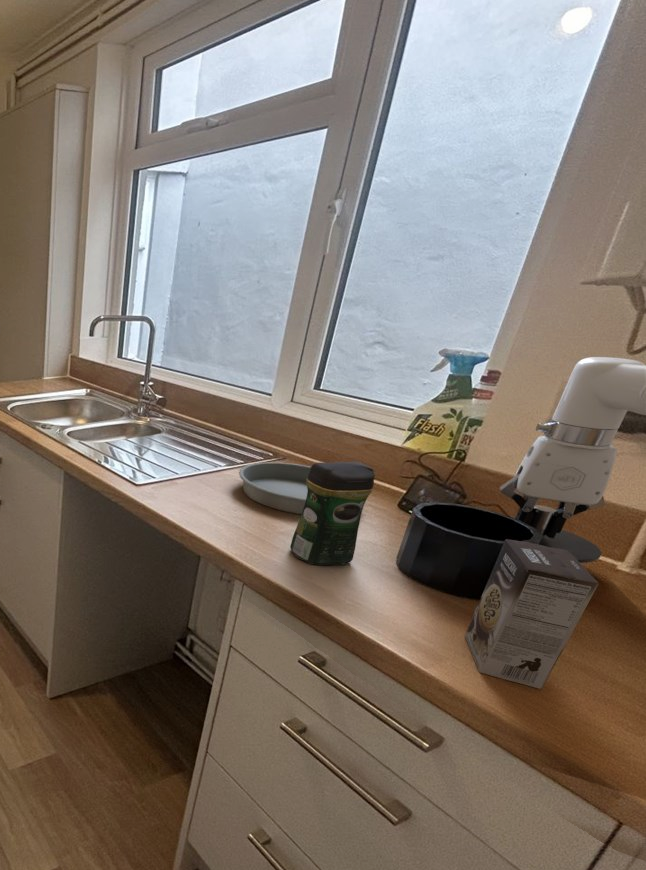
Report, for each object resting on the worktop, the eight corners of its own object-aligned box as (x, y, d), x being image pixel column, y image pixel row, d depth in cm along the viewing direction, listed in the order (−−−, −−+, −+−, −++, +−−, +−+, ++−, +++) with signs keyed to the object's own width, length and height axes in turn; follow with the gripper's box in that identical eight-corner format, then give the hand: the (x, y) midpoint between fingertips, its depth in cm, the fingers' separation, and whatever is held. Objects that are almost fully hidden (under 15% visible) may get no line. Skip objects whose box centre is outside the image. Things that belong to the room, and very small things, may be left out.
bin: (500, 567, 94) (523, 514, 90) (528, 612, 82) (556, 553, 78) (391, 545, 102) (408, 496, 98) (402, 584, 89) (421, 529, 85)
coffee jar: (330, 545, 102) (355, 455, 95) (359, 566, 95) (389, 470, 88) (281, 547, 102) (303, 456, 95) (306, 568, 94) (332, 471, 87)
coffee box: (461, 635, 77) (503, 537, 71) (521, 650, 74) (570, 548, 67) (477, 673, 69) (525, 567, 63) (544, 691, 66) (602, 582, 60)
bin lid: (576, 534, 98) (592, 501, 95) (617, 576, 84) (637, 539, 82) (459, 514, 106) (471, 483, 103) (479, 549, 92) (494, 515, 90)
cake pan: (242, 511, 117) (246, 492, 116) (230, 474, 139) (233, 457, 137) (372, 525, 110) (378, 506, 108) (338, 484, 131) (342, 467, 130)
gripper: (519, 432, 88) (478, 530, 95) (664, 448, 80) (608, 553, 87) (506, 422, 94) (469, 514, 101) (640, 435, 86) (589, 535, 93)
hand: (534, 531), depth 94 cm, fingers closed on bin lid, 3 cm apart
